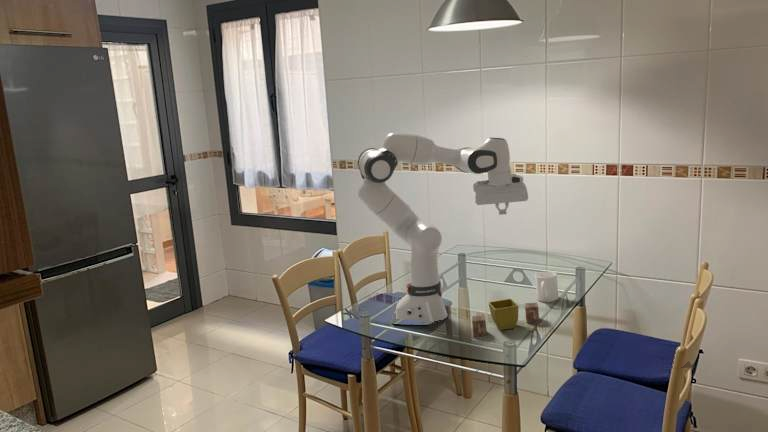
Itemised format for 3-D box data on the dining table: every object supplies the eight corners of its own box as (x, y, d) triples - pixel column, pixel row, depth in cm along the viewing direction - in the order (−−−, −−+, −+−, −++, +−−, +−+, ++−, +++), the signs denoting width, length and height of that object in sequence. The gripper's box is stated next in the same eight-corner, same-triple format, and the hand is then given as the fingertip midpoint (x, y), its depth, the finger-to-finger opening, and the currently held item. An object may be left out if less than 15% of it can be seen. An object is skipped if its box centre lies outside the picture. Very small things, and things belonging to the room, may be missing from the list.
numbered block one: (473, 337, 206) (472, 321, 205) (474, 332, 210) (472, 316, 209) (486, 336, 205) (484, 320, 204) (486, 331, 209) (484, 315, 208)
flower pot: (490, 324, 215) (487, 301, 213) (513, 321, 215) (511, 298, 214) (497, 333, 206) (494, 309, 205) (521, 329, 207) (518, 305, 205)
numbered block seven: (526, 323, 212) (525, 307, 211) (526, 318, 216) (524, 303, 215) (539, 322, 211) (538, 306, 210) (538, 317, 216) (537, 302, 214)
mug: (554, 306, 225) (552, 280, 223) (532, 305, 229) (530, 280, 227) (560, 296, 235) (558, 271, 233) (539, 295, 239) (537, 271, 237)
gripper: (472, 182, 224) (475, 217, 227) (527, 177, 220) (529, 213, 223) (473, 180, 230) (476, 214, 233) (526, 175, 226) (528, 210, 229)
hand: (502, 214), depth 228 cm, fingers closed
